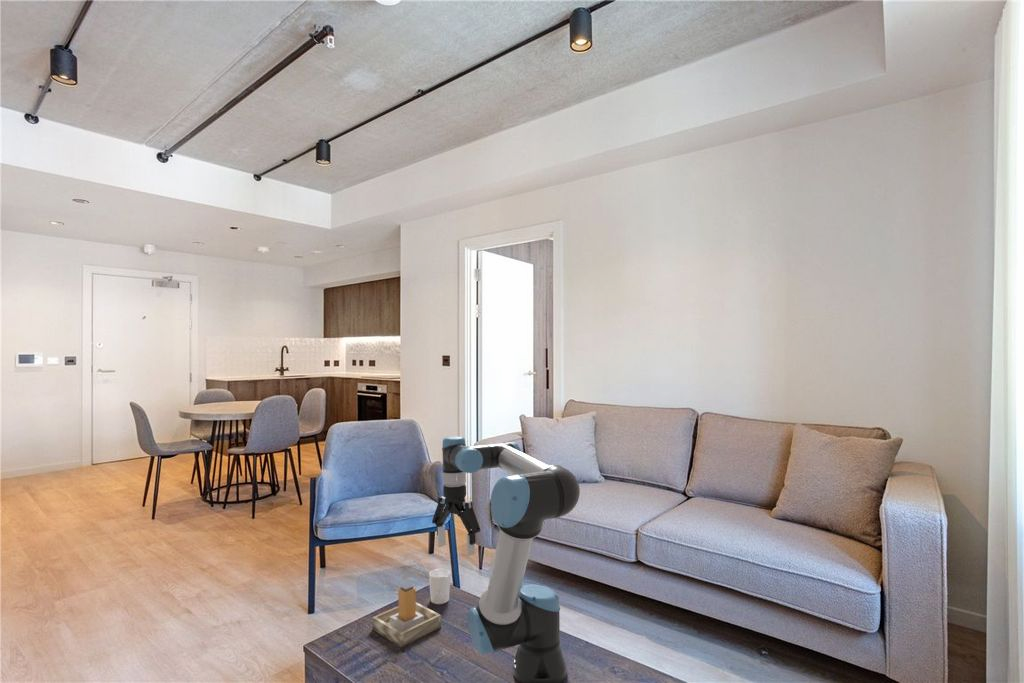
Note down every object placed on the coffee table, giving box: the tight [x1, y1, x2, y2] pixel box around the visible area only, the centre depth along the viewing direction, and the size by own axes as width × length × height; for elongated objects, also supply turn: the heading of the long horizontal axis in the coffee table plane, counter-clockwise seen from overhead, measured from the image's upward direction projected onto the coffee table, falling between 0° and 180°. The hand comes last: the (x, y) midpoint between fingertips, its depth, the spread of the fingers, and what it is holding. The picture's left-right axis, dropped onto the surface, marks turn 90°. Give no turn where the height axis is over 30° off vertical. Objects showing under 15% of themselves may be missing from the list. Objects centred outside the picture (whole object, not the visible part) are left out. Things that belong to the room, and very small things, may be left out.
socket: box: [390, 612, 424, 632], centre depth 170 cm, size 8×8×3 cm
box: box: [371, 601, 442, 648], centre depth 170 cm, size 16×16×4 cm
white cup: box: [428, 568, 452, 605], centre depth 189 cm, size 8×8×10 cm
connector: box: [397, 583, 417, 622], centre depth 170 cm, size 4×4×13 cm
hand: (455, 550), depth 167 cm, fingers open, 13 cm apart
